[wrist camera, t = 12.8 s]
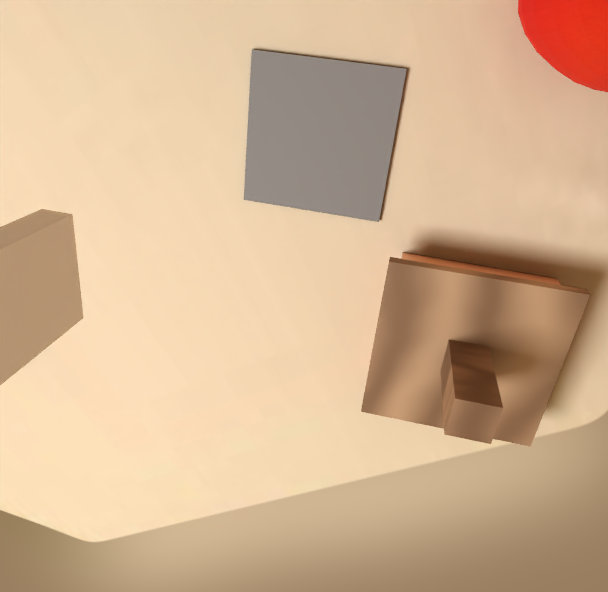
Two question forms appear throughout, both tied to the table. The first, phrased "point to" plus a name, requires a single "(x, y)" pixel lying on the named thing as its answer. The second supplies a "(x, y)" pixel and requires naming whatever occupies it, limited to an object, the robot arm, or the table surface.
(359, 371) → the table surface
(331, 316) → the table surface
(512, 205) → the table surface
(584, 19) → the tomato
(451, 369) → the lid
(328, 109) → the mat
